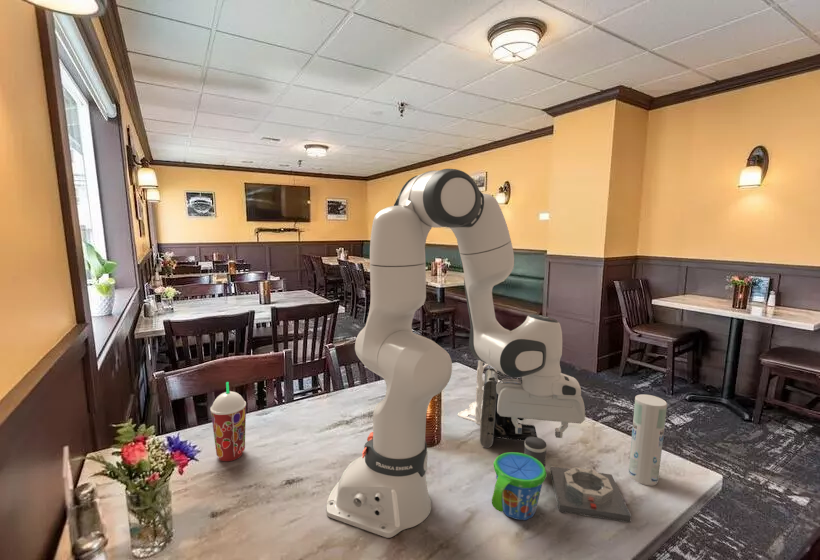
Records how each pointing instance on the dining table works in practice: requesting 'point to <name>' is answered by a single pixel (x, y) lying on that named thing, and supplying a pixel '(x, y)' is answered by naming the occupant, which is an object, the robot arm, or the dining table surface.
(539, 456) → the lens
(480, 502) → the dining table surface
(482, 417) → the vintage camera
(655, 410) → the spray can
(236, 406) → the smoothie
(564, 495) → the mount plate
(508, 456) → the snack cup
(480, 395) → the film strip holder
